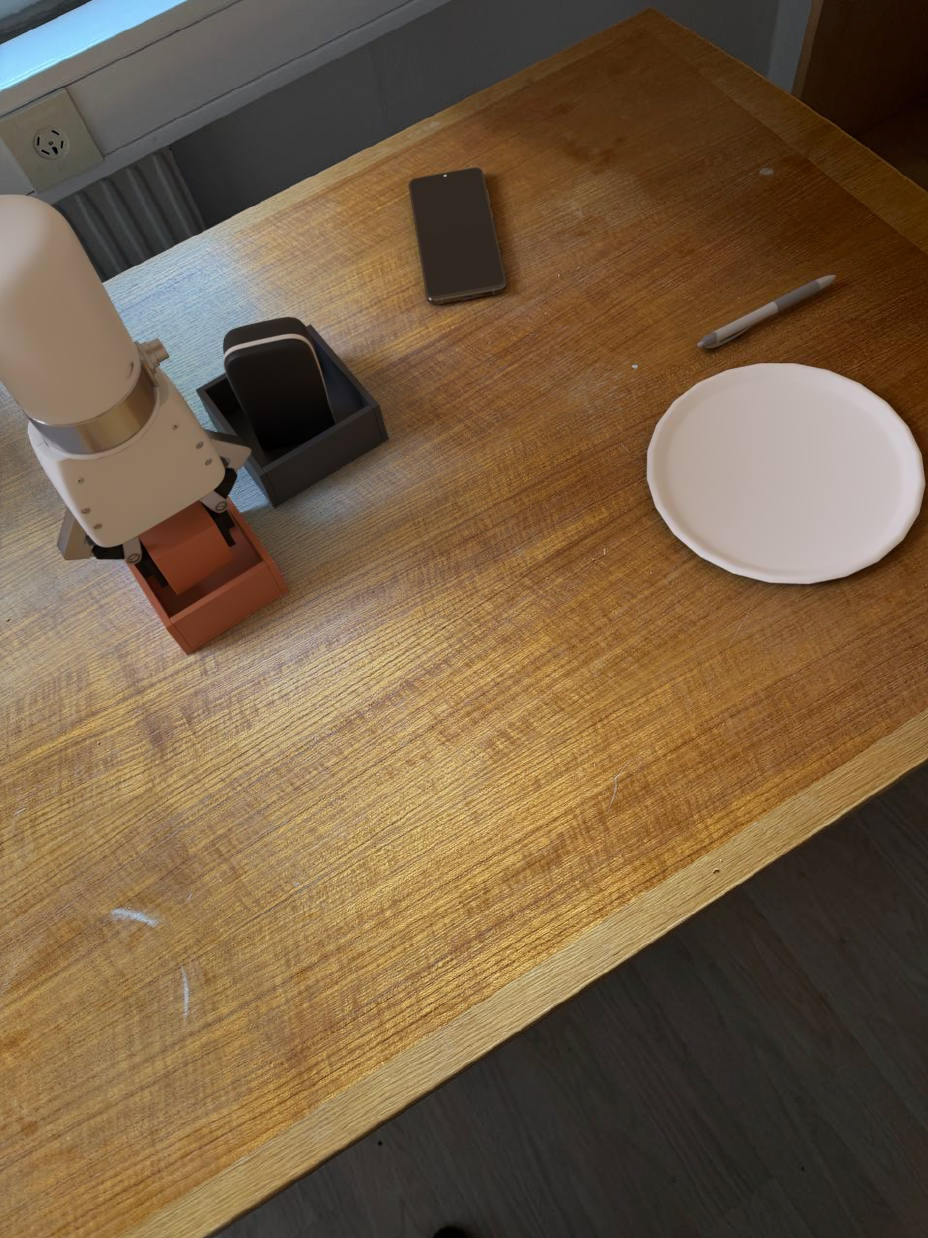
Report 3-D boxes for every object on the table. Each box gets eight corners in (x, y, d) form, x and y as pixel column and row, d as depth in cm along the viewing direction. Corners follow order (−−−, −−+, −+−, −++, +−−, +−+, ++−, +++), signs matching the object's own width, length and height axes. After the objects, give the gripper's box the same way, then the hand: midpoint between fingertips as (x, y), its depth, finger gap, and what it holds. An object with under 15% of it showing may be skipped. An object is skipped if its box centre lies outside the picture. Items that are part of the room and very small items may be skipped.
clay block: (178, 595, 77) (153, 560, 72) (149, 549, 79) (123, 513, 74) (236, 560, 78) (215, 523, 73) (206, 516, 80) (184, 478, 75)
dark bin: (274, 509, 84) (259, 476, 81) (212, 423, 89) (194, 389, 85) (389, 439, 87) (379, 404, 83) (322, 359, 91) (310, 323, 88)
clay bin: (186, 655, 79) (165, 628, 75) (136, 572, 83) (113, 543, 79) (289, 590, 81) (274, 561, 77) (235, 513, 85) (217, 481, 81)
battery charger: (335, 401, 88) (303, 302, 78) (341, 435, 87) (309, 339, 77) (255, 418, 88) (213, 322, 78) (259, 453, 87) (216, 360, 77)
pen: (693, 349, 88) (695, 337, 86) (830, 280, 90) (833, 267, 88) (700, 356, 87) (702, 345, 86) (837, 287, 89) (841, 274, 88)
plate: (762, 641, 74) (764, 633, 73) (593, 451, 84) (593, 442, 83) (982, 498, 78) (987, 488, 77) (796, 332, 87) (799, 321, 86)
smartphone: (426, 301, 92) (407, 177, 99) (428, 309, 93) (408, 187, 100) (508, 286, 92) (482, 164, 99) (509, 295, 93) (483, 173, 100)
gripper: (187, 291, 65) (264, 464, 81) (-62, 427, 62) (70, 578, 78) (242, 363, 62) (312, 527, 78) (-17, 509, 59) (111, 650, 75)
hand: (190, 551), depth 78 cm, fingers closed on clay block, 5 cm apart
